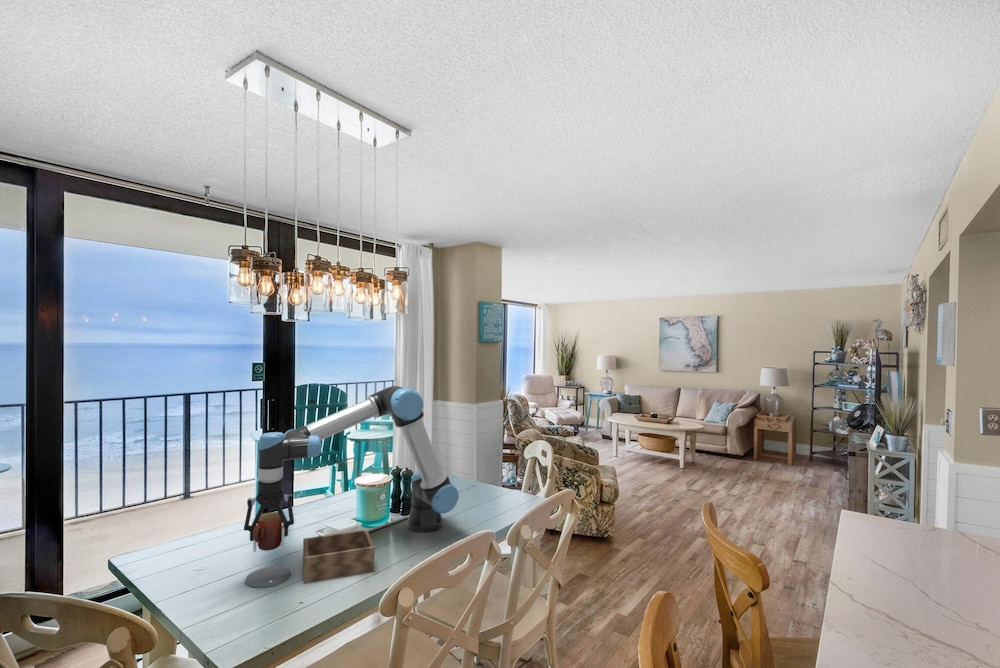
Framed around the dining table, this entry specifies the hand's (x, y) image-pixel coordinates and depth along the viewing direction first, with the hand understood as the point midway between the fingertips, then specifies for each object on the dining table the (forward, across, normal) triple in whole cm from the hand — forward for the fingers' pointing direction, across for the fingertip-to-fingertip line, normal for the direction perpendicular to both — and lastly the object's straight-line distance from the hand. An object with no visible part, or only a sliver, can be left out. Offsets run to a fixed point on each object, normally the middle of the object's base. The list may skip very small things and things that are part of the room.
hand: (268, 548), depth 161 cm
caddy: (+10, -22, 0) cm, 24 cm away
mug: (0, +1, 0) cm, 1 cm away
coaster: (+10, 0, 0) cm, 10 cm away
